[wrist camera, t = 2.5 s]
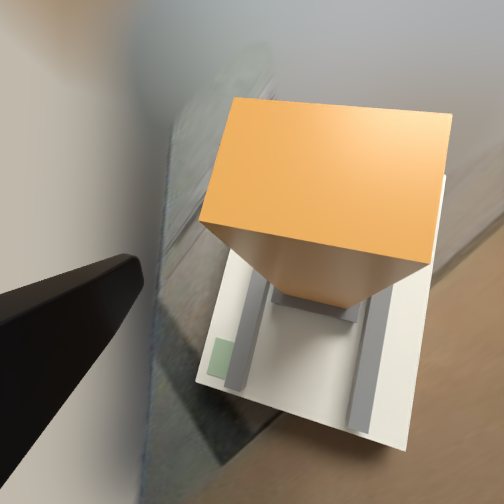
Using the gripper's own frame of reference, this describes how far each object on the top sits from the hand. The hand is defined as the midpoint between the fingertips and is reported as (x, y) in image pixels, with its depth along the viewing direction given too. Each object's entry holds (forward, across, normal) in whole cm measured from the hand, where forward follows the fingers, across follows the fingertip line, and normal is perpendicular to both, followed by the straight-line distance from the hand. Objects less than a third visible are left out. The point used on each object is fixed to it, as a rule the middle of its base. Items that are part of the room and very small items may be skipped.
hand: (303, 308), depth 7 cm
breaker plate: (+9, 0, +6) cm, 11 cm away
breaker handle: (+7, 0, +5) cm, 9 cm away
